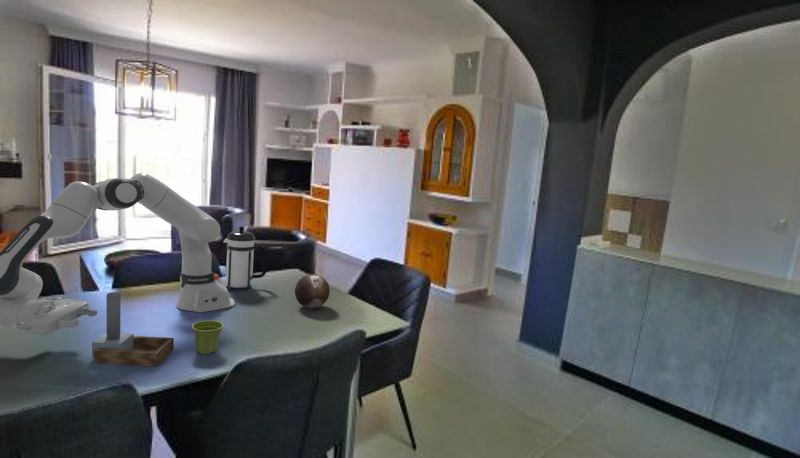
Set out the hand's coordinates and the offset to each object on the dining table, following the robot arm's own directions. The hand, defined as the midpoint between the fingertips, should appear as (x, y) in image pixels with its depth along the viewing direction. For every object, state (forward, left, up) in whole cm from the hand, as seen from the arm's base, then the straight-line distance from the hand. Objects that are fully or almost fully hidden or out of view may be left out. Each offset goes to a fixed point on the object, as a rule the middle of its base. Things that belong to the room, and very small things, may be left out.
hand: (86, 318), depth 138 cm
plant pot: (-32, +11, -12) cm, 36 cm away
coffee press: (-63, -55, -12) cm, 85 cm away
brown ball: (-82, -17, -12) cm, 85 cm away
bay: (-12, +7, -11) cm, 18 cm away
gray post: (-7, +4, -11) cm, 13 cm away
